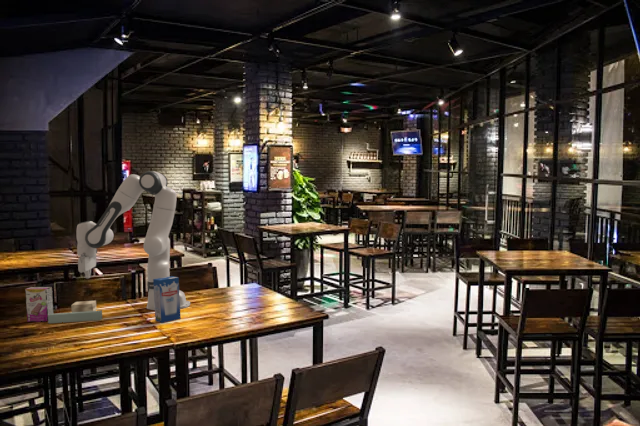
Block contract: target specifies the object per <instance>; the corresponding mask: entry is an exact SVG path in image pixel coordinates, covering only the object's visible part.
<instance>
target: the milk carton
mask: <svg viewBox="0 0 640 426" xmlns="http://www.w3.org/2000/svg"><path fill="white" fill-rule="evenodd" d="M179 281H180V280H179V277H178V276H173V275H171V276H170V277H164V278H158V279H153V283H154V302H155V310H154V319H155V322H158V323H161V324H163V323H169V322H172V321H177V320H181V319H182V318H181V316H182V315H181V308H180V296H179V290H180V282H179Z"/></svg>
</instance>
